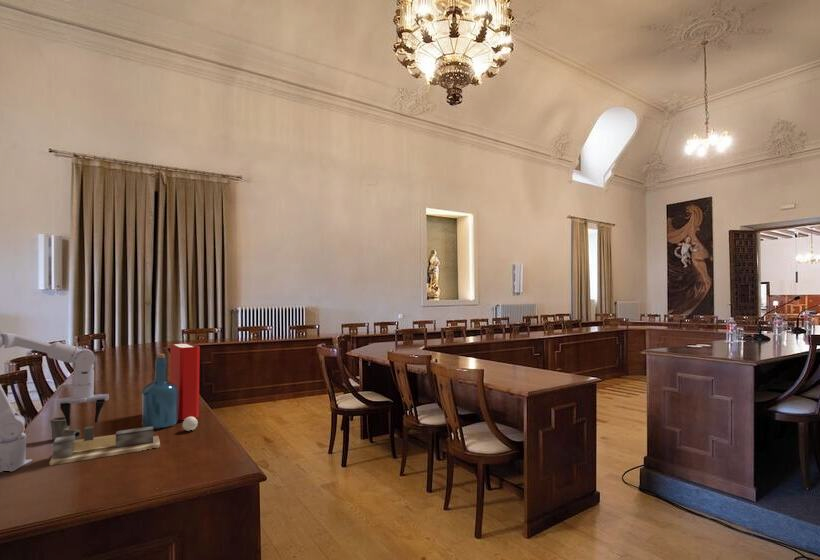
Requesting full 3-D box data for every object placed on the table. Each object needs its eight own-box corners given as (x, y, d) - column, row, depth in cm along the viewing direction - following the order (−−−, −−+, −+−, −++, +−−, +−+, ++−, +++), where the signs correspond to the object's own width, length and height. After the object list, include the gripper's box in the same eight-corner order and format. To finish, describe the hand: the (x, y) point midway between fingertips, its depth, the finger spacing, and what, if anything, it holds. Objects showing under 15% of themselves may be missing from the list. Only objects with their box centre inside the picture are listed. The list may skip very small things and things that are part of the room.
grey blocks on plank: (49, 465, 142) (50, 445, 142) (55, 454, 152) (55, 435, 153) (160, 447, 159) (160, 429, 159) (158, 438, 169) (158, 421, 169)
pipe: (69, 443, 164) (70, 421, 164) (44, 441, 167) (44, 419, 167) (85, 438, 170) (86, 417, 170) (60, 436, 173) (61, 415, 173)
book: (169, 409, 214) (170, 342, 215) (187, 406, 219) (188, 341, 220) (179, 421, 192) (180, 347, 193) (199, 418, 197) (200, 346, 198)
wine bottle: (169, 419, 196) (170, 351, 197) (183, 424, 187) (184, 353, 189) (135, 426, 185) (136, 354, 186) (148, 432, 177) (149, 357, 178)
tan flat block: (62, 453, 147) (63, 432, 148) (63, 450, 150) (64, 429, 150) (131, 442, 158) (131, 422, 158) (131, 440, 160) (131, 421, 161)
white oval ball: (180, 433, 175) (180, 419, 176) (184, 429, 181) (184, 415, 181) (201, 431, 178) (201, 417, 178) (204, 427, 183) (204, 414, 183)
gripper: (55, 388, 147) (54, 429, 146) (108, 383, 154) (107, 423, 154) (58, 384, 153) (57, 424, 152) (109, 380, 160) (108, 418, 160)
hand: (82, 423), depth 153 cm, fingers open, 7 cm apart
